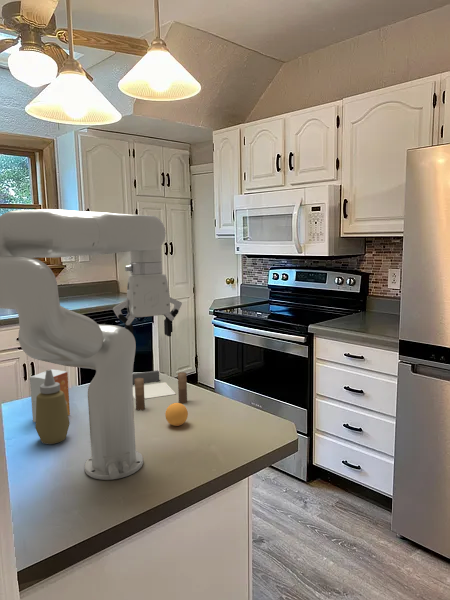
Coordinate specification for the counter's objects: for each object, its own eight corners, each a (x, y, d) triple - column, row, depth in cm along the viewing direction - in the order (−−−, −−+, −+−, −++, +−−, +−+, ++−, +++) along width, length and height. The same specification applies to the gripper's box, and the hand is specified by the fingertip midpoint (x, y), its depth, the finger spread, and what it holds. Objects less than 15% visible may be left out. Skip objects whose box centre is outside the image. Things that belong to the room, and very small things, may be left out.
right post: (188, 402, 140) (187, 374, 139) (180, 404, 139) (179, 375, 138) (185, 399, 143) (184, 371, 141) (177, 401, 142) (176, 372, 140)
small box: (49, 425, 125) (46, 379, 123) (32, 422, 127) (28, 376, 126) (70, 415, 132) (68, 371, 130) (54, 411, 135) (51, 368, 133)
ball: (191, 427, 122) (190, 405, 121) (169, 431, 120) (168, 409, 119) (184, 419, 128) (183, 398, 127) (163, 422, 125) (162, 401, 125)
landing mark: (175, 394, 148) (175, 393, 148) (135, 400, 143) (135, 399, 143) (165, 382, 160) (165, 382, 160) (127, 387, 155) (127, 387, 155)
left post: (145, 409, 135) (144, 379, 134) (136, 410, 134) (135, 380, 133) (143, 406, 138) (142, 377, 136) (135, 407, 137) (133, 378, 135)
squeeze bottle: (43, 450, 110) (37, 377, 108) (31, 439, 116) (26, 370, 114) (75, 440, 116) (71, 370, 113) (63, 430, 122) (58, 364, 119)
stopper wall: (159, 381, 162) (159, 371, 161) (130, 385, 158) (130, 375, 157) (158, 379, 163) (158, 370, 163) (130, 383, 159) (129, 373, 159)
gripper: (115, 272, 106) (118, 345, 108) (185, 268, 113) (187, 336, 116) (107, 270, 112) (111, 338, 115) (174, 267, 120) (176, 331, 123)
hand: (149, 337), depth 115 cm, fingers open, 9 cm apart
